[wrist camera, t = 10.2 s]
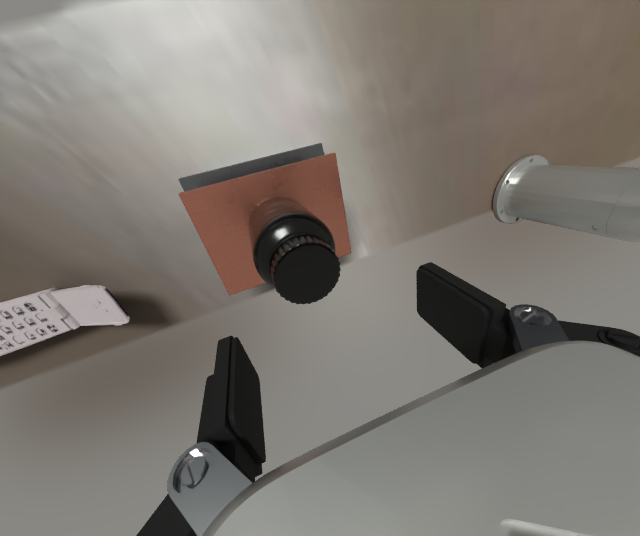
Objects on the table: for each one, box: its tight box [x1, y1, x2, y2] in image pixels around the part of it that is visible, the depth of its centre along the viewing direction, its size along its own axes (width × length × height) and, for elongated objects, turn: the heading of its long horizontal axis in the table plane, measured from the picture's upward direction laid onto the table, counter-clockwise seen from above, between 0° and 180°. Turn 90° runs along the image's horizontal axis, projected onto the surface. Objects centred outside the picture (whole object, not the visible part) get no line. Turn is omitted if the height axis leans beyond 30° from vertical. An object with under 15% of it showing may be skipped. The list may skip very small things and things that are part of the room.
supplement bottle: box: [249, 197, 340, 304], centre depth 21 cm, size 7×7×12 cm
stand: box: [179, 143, 351, 295], centre depth 30 cm, size 18×14×8 cm
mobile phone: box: [0, 285, 130, 356], centre depth 27 cm, size 6×6×25 cm
